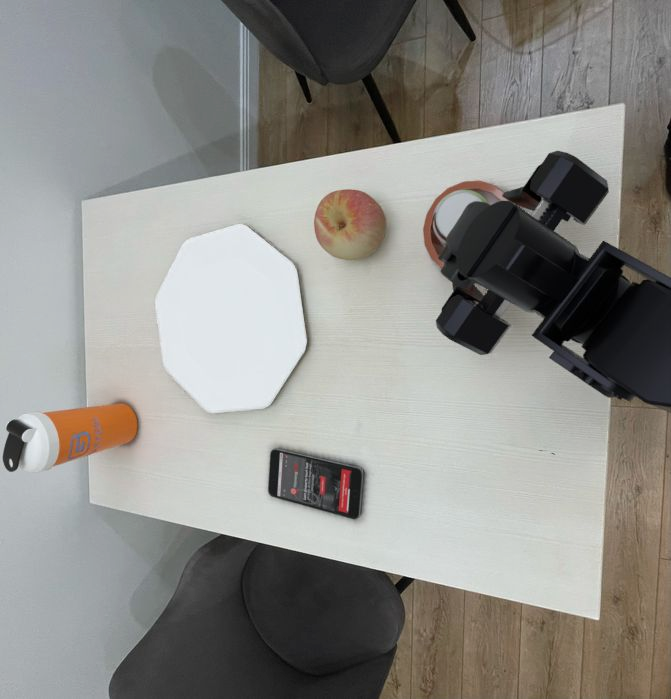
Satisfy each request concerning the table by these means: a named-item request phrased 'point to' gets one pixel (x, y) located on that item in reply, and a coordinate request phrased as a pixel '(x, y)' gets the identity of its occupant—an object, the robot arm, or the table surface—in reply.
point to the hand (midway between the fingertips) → (480, 235)
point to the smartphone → (316, 483)
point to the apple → (349, 224)
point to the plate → (231, 320)
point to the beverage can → (452, 211)
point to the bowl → (430, 238)
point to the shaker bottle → (66, 435)
